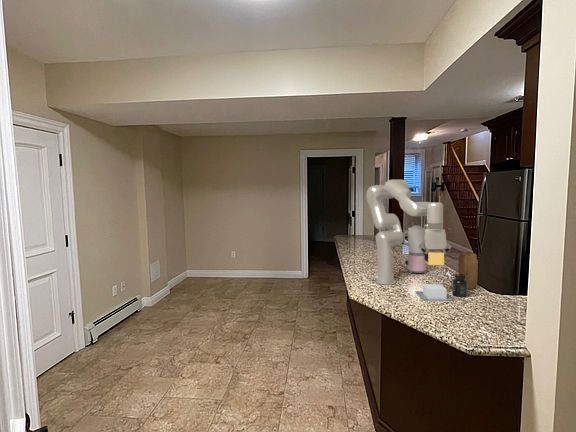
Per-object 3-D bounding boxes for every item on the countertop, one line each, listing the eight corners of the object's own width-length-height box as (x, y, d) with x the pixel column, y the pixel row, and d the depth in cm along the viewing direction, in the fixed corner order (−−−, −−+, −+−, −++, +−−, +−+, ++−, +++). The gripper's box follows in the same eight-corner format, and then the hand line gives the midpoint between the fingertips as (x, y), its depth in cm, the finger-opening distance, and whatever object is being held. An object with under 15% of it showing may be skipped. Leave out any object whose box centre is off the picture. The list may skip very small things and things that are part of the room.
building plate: (422, 302, 163) (422, 299, 163) (414, 293, 179) (414, 290, 179) (456, 303, 161) (456, 300, 161) (445, 293, 177) (445, 290, 176)
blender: (423, 270, 231) (423, 225, 229) (428, 274, 219) (428, 226, 217) (400, 270, 233) (400, 225, 231) (404, 274, 221) (404, 226, 219)
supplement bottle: (449, 295, 173) (450, 273, 173) (463, 295, 173) (463, 272, 173) (456, 299, 167) (456, 276, 166) (469, 299, 166) (470, 276, 166)
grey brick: (427, 298, 166) (427, 288, 166) (422, 293, 175) (422, 284, 175) (446, 299, 165) (446, 289, 164) (440, 293, 174) (440, 284, 173)
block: (478, 289, 182) (478, 254, 181) (464, 289, 183) (464, 254, 182) (469, 284, 193) (470, 250, 192) (456, 284, 194) (456, 250, 193)
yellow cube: (429, 265, 166) (429, 253, 165) (425, 262, 173) (425, 250, 172) (444, 265, 165) (444, 253, 164) (439, 262, 172) (439, 250, 171)
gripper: (418, 227, 165) (418, 262, 166) (455, 227, 163) (455, 262, 164) (415, 226, 172) (415, 259, 174) (450, 225, 170) (450, 259, 171)
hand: (434, 260), depth 169 cm, fingers closed on yellow cube, 7 cm apart
